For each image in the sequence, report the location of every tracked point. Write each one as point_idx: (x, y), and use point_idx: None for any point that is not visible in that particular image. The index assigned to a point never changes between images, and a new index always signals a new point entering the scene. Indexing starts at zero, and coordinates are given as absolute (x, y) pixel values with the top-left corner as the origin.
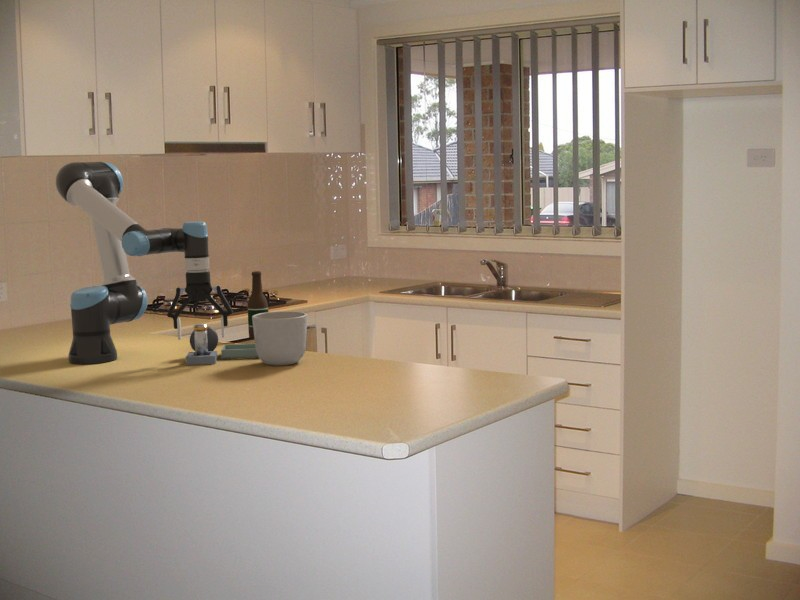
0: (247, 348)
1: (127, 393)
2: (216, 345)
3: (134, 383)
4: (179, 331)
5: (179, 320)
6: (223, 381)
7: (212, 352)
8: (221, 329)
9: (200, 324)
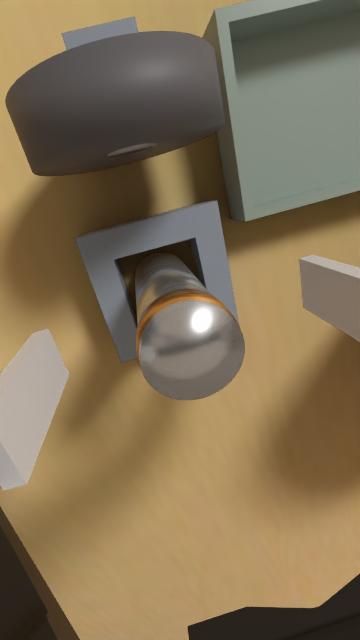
0: (342, 7)
1: (129, 624)
2: (203, 137)
3: (90, 568)
4: (54, 407)
5: (27, 463)
6: (305, 511)
7: (204, 243)
8: (333, 325)
9: (194, 354)
